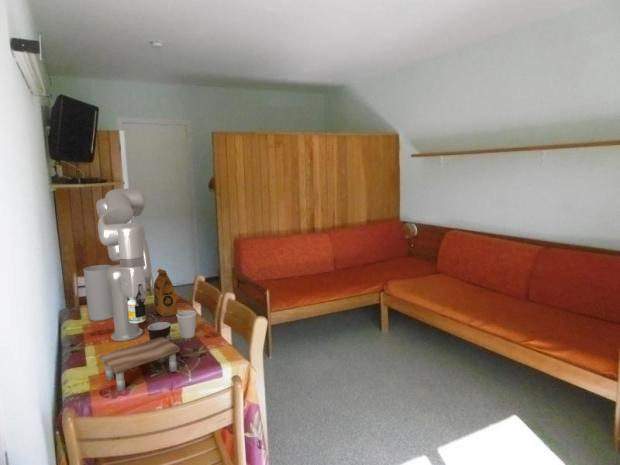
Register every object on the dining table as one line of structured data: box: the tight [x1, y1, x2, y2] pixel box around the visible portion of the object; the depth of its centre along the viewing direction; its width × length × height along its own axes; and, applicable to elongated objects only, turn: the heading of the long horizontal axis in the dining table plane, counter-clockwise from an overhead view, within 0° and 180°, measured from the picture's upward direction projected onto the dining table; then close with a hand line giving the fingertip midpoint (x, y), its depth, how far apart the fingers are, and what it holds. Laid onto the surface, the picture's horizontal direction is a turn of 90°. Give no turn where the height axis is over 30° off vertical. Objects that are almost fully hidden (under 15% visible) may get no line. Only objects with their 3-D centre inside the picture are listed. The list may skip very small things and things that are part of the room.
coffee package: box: [153, 268, 178, 318], centre depth 205 cm, size 10×12×22 cm
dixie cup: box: [175, 309, 197, 339], centre depth 176 cm, size 8×8×10 cm
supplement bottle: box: [127, 294, 147, 324], centre depth 140 cm, size 5×5×10 cm
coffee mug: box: [147, 321, 172, 342], centre depth 164 cm, size 12×9×10 cm
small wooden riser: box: [99, 337, 181, 392], centre depth 143 cm, size 14×22×8 cm, turn 135°
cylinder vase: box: [83, 264, 114, 322], centre depth 201 cm, size 12×12×25 cm
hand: (136, 313), depth 140 cm, fingers closed on supplement bottle, 5 cm apart
